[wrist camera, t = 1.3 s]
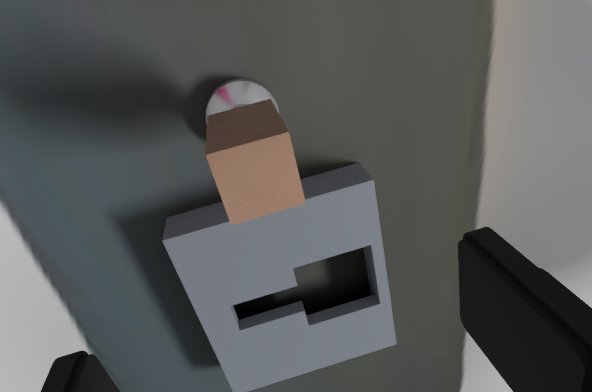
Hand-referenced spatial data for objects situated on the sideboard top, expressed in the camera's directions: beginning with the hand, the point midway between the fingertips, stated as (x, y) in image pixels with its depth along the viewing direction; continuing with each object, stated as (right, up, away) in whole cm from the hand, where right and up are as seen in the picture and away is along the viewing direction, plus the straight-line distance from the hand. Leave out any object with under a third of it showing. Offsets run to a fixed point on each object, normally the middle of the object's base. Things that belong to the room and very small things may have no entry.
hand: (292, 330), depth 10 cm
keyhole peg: (-4, +9, +17) cm, 20 cm away
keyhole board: (0, -3, +24) cm, 24 cm away
